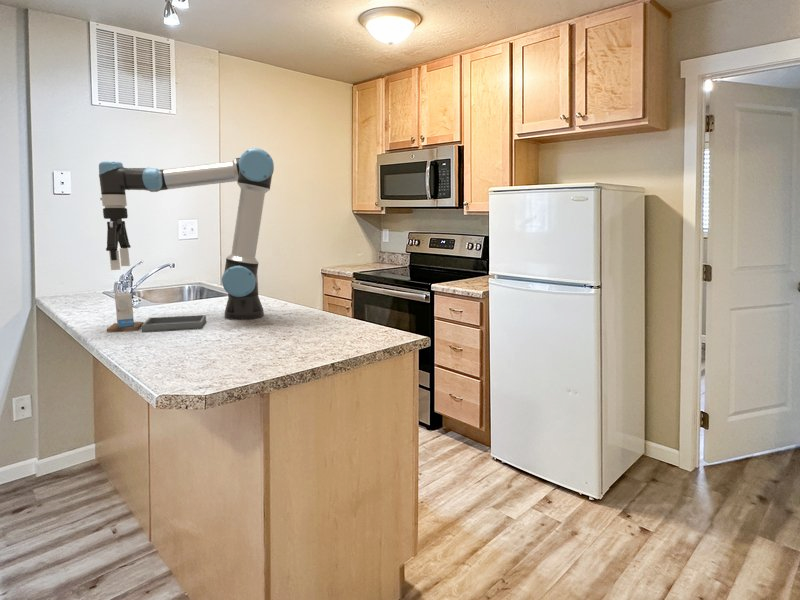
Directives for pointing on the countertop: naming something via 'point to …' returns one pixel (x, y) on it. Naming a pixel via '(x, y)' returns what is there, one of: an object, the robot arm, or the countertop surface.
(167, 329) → the tray
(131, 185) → the robot arm
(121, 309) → the ink box
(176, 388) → the countertop surface
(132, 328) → the board
